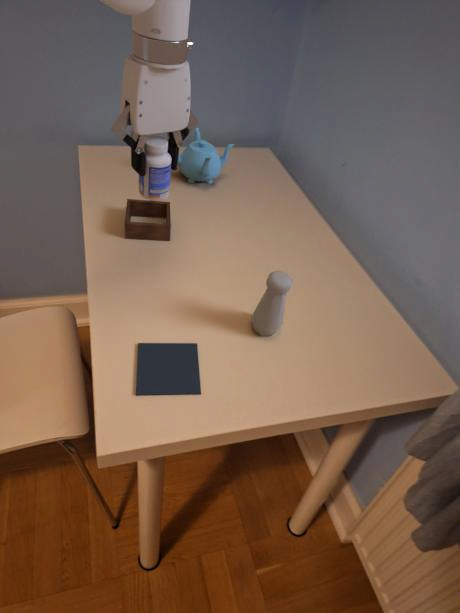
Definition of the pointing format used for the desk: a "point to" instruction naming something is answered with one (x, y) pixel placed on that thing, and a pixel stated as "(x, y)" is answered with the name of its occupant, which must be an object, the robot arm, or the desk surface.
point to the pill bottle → (156, 170)
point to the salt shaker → (272, 304)
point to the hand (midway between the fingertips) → (155, 168)
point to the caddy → (147, 229)
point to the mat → (167, 369)
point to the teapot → (202, 160)
